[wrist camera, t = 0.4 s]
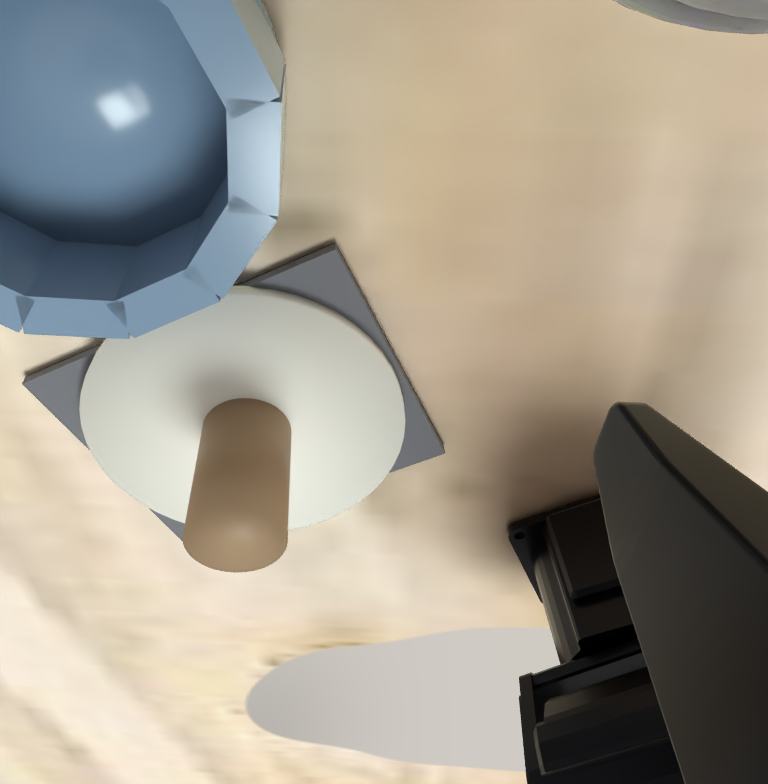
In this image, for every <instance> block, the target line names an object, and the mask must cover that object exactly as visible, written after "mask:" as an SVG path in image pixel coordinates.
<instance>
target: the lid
mask: <svg viewBox="0 0 768 784" xmlns="http://www.w3.org/2000/svg"><path fill="white" fill-rule="evenodd" d="M79 412H80V420H81V427H82V430H83V434H84V437H85V440H86V443H87V445H88V447H89V449H90V451H91V453H92V455H93V457H94V458H95V460H96V461H97V463H98V464H99V466H100V467H101V469H102V470H103V471H104V472H105V473H106V474H107V476H108V477H109V478H110V479H111V480H112V481H113V482H114V483H115V484H116V485H117V486H118V487H120V488H121V489H122V490H123V491H124V492H125V493H127V494H128V495H129V496H131V497H132V498H134V499H135V500H137V501H138V502H139V503H141V504H142V505H144V506H146V507H148V508H150V509H152V510H154V511H155V512H157V513H159V514H162V515H164V516H166V517H169V518H171V519H173V520H176V521H179V522H182V523H185V526H184V531H183V544H184V547H185V549H186V551H187V552H188V553H189V555H190V556H191V557H192V558H194V559H195V560H196V561H198V562H199V563H201V564H203V565H205V566H207V567H210V568H212V569H216V570H220V571H226V572H249V571H254V570H258V569H261V568H264V567H266V566H268V565H270V564H272V563H274V562H275V561H277V560H278V559H279V558H280V557H281V556H282V555H283V553H284V551H285V550H286V547H287V541H288V530H293V529H298V528H303V527H306V526H310V525H313V524H316V523H320V522H322V521H325V520H327V519H330V518H332V517H335V516H336V515H338V514H340V513H342V512H344V511H346V510H348V509H350V508H351V507H353V506H354V505H356V504H357V503H359V502H360V501H362V500H363V499H364V498H365V497H367V496H368V495H369V494H370V493H371V492H372V491H373V490H375V489H376V488H377V486H378V485H379V484H380V483H381V482H382V481H383V480H384V479H385V477H386V476H387V474H388V473H389V471H390V470H391V468H392V467H393V465H394V463H395V461H396V459H397V457H398V455H399V452H400V450H401V446H402V442H403V439H404V431H405V411H404V402H403V396H402V392H401V388H400V384H399V381H398V378H397V376H396V374H395V372H394V369H393V367H392V365H391V364H390V362H389V361H388V359H387V357H386V356H385V354H384V353H383V351H382V350H381V349H380V348H379V347H378V346H377V344H376V343H375V342H374V341H373V340H372V339H371V338H370V337H369V336H368V335H367V334H366V333H365V332H364V331H362V330H361V329H360V328H359V327H358V326H357V325H355V324H354V323H353V322H351V321H350V320H348V319H347V318H345V317H344V316H342V315H340V314H339V313H337V312H336V311H334V310H332V309H330V308H328V307H325V306H323V305H321V304H319V303H317V302H315V301H312V300H309V299H306V298H304V297H301V296H298V295H295V294H291V293H287V292H282V291H278V290H274V289H267V288H258V287H250V286H232V287H231V289H230V290H229V292H228V293H227V294H226V296H225V297H224V299H223V298H222V297H221V299H220V302H218V303H215V304H213V305H211V306H208V307H206V308H204V309H201V310H199V311H197V312H194V313H192V314H190V315H187V316H185V317H183V318H180V319H178V320H176V321H173V322H171V323H169V324H166V325H164V326H162V327H159V328H157V329H155V330H152V331H150V332H148V333H145V334H143V335H141V336H138V337H136V338H133V337H132V336H131V335H130V338H129V339H115V338H106V339H105V340H104V342H103V343H102V344H101V346H100V347H99V348H98V350H97V351H96V353H95V356H94V358H93V360H92V362H91V364H90V366H89V368H88V371H87V373H86V376H85V379H84V382H83V386H82V390H81V394H80V407H79Z"/></svg>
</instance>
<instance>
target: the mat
mask: <svg viewBox="0 0 768 784" xmlns="http://www.w3.org/2000/svg"><path fill="white" fill-rule="evenodd" d="M237 286H250V287H258V288H267V289H274V290H278V291H282V292H287V293H291V294H295V295H298V296H301V297H304V298H306V299H309V300H312V301H315V302H317V303H319V304H321V305H323V306H325V307H328V308H330V309H332V310H334V311H336V312H337V313H339V314H340V315H342V316H344V317H345V318H347V319H348V320H350V321H351V322H353V323H354V324H355V325H357V326H358V327H359V328H360V329H361V330H362V331H364V332H365V333H366V334H367V335H368V336H369V337H370V338H371V339H372V340H373V341H374V342H375V343H376V344H377V346H378V347H379V348H380V349H381V350H382V351H383V353H384V354H385V356H386V357H387V359H388V361H389V362H390V364H391V365H392V367H393V369H394V372H395V374H396V376H397V378H398V381H399V384H400V388H401V392H402V396H403V402H404V411H405V431H404V439H403V442H402V446H401V450H400V452H399V455H398V457H397V459H396V461H395V463H394V465H393V467H392V468H391V470H390V471H389V473H390V472H393V471H396V470H399V469H402V468H404V467H407V466H410V465H413V464H416V463H418V462H421V461H424V460H427V459H430V458H433V457H435V456H438V455H441V454H444V453H445V450H444V446H443V444H442V442H441V440H440V438H439V436H438V435H437V433H436V431H435V429H434V427H433V425H432V423H431V421H430V420H429V418H428V416H427V414H426V412H425V410H424V408H423V406H422V405H421V403H420V401H419V399H418V397H417V395H416V393H415V391H414V390H413V388H412V386H411V384H410V382H409V380H408V378H407V377H406V375H405V373H404V371H403V369H402V367H401V365H400V363H399V362H398V360H397V358H396V356H395V354H394V352H393V350H392V348H391V347H390V345H389V343H388V341H387V339H386V337H385V335H384V333H383V332H382V330H381V328H380V326H379V324H378V322H377V320H376V318H375V317H374V315H373V313H372V311H371V309H370V307H369V305H368V304H367V302H366V300H365V298H364V296H363V294H362V292H361V290H360V289H359V287H358V285H357V283H356V281H355V279H354V277H353V275H352V274H351V272H350V270H349V268H348V266H347V264H346V262H345V260H344V259H343V257H342V255H341V253H340V251H339V249H338V247H337V245H336V244H335V243H334V244H332V245H330V246H327V247H325V248H323V249H321V250H318V251H316V252H314V253H311V254H309V255H307V256H304V257H302V258H300V259H297V260H295V261H293V262H290V263H288V264H286V265H283V266H281V267H279V268H277V269H274V270H272V271H270V272H267V273H265V274H263V275H260V276H258V277H256V278H253V279H251V280H249V281H246V282H244V283H242V284H239V285H237ZM100 346H101V344H100V345H98V346H96V347H94V348H91V349H89V350H87V351H84V352H82V353H80V354H77V355H75V356H73V357H70V358H68V359H66V360H63V361H61V362H59V363H56V364H54V365H52V366H50V367H47V368H45V369H43V370H40V371H38V372H36V373H33V374H31V375H29V376H26V377H25V379H24V381H23V383H22V384H23V385H24V386H25V387H26V388H27V389H28V390H29V391H30V392H31V393H32V394H33V395H34V396H35V397H36V398H37V399H38V400H39V401H40V402H41V403H42V404H43V405H44V406H45V407H46V408H47V409H48V410H49V411H50V412H51V413H52V414H53V415H54V416H55V417H56V418H57V419H58V420H59V421H60V422H61V423H62V424H64V425H65V426H66V427H67V428H68V429H69V430H70V431H71V432H72V433H73V434H74V435H75V436H76V437H77V438H78V439H79V440H80V441H81V442H82V443H83V444H84V445H85V446H86V447H87V448H88V449H89V447H88V445H87V443H86V440H85V437H84V434H83V430H82V427H81V420H80V412H79V407H80V394H81V390H82V386H83V382H84V379H85V376H86V373H87V371H88V368H89V366H90V364H91V362H92V360H93V358H94V356H95V353H96V351H97V350H98V348H99V347H100ZM89 450H90V449H89ZM149 509H150V508H149ZM150 510H151V511H152V512H153V513H154V514H155V515H156V516H157V517H158V518H159V519H160V520H161V521H162V522H163V523H164V524H165V525H166V526H167V527H168V528H169V529H171V530H172V531H173V532H174V533H175V534H176V535H177V536H178V537H179V538H180V539H181V540H182V541H183V531H184V526H185V523H182V522H179V521H176V520H173V519H171V518H169V517H166V516H164V515H162V514H159V513H157V512H155V511H154V510H152V509H150Z"/></svg>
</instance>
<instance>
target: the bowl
mask: <svg viewBox="0 0 768 784" xmlns="http://www.w3.org/2000/svg"><path fill="white" fill-rule="evenodd" d="M284 61H285V58H284V56H283V54H282V52H281V50H280V48H279V46H278V42H277V39H276V35H275V32H274V28H273V25H272V22H271V20H270V17H269V15H268V13H267V10H266V8H265V5H264V3H263V1H262V0H0V324H1V325H3V326H5V327H8V328H10V329H12V330H14V331H17V332H19V331H20V330H21V328H22V326H23V330H24V334H37V335H56V336H76V337H95V338H115V339H129V338H130V335H131V336H132V337H133V338H136V337H138V336H141V335H143V334H145V333H148V332H150V331H152V330H155V329H157V328H159V327H162V326H164V325H166V324H169V323H171V322H173V321H176V320H178V319H180V318H183V317H185V316H187V315H190V314H192V313H194V312H197V311H199V310H201V309H204V308H206V307H208V306H211V305H213V304H215V303H218V302H220V299H221V297H222V298H223V299H224V297H225V296H226V294H227V293H228V292H229V290H230V289H231V287H232V286H233V284H234V283H235V281H236V280H237V278H238V277H239V276H240V274H241V273H242V271H243V270H244V268H245V267H246V265H247V264H248V263H249V261H250V260H251V258H252V257H253V255H254V254H255V252H256V251H257V249H258V248H259V247H260V245H261V244H262V242H263V241H264V239H265V238H266V236H267V235H268V233H269V232H270V231H271V229H272V228H273V226H274V225H275V223H276V222H277V217H278V216H279V208H280V197H281V186H282V175H283V156H284V120H285V109H286V98H285V83H286V64H284Z"/></svg>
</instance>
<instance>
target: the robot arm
mask: <svg viewBox="0 0 768 784" xmlns="http://www.w3.org/2000/svg"><path fill="white" fill-rule="evenodd" d="M593 458H594V467H595V472H596V477H597V482H598V487H599V492H600V495H597V496H594V497H591V498H588V499H585V500H582V501H579V502H576V503H573V504H570V505H567V506H564V507H561V508H557V509H554V510H551V511H548V512H545V513H542V514H539V515H536V516H533V517H530V518H527V519H524V520H521V521H517V522H514V523H512V524H510V525H509V526H508V528H507V534H508V538H509V540H510V542H511V544H512V546H513V548H514V550H515V552H516V554H517V556H518V558H519V560H520V562H521V564H522V566H523V568H524V570H525V572H526V574H527V576H528V578H529V580H530V582H531V584H532V585H533V587H534V589H535V591H536V593H537V595H538V597H539V599H540V601H541V602H542V603H543V604H544V608H545V612H546V615H547V619H548V622H549V626H550V629H551V632H552V636H553V640H554V643H555V646H556V650H557V654H558V657H559V661H560V664H561V665H558V666H555V667H552V668H549V669H547V670H544V671H541V672H538V673H535V674H533V673H528V674H525V675H522V676H520V677H519V683H520V693H521V696H519V703H520V714H521V724H522V735H523V746H524V756H525V767H526V778H527V784H768V492H767V491H766V490H764V489H763V488H762V487H760V486H759V485H758V484H756V483H755V482H753V481H752V480H751V479H749V478H748V477H747V476H745V475H744V474H742V473H741V472H740V471H738V470H737V469H735V468H734V467H733V466H731V465H730V464H729V463H727V462H726V461H724V460H723V459H722V458H720V457H719V456H718V455H716V454H715V453H713V452H712V451H711V450H709V449H708V448H706V447H705V446H704V445H702V444H701V443H700V442H698V441H697V440H695V439H694V438H693V437H691V436H690V435H689V434H687V433H686V432H684V431H683V430H682V429H680V428H679V427H678V426H676V425H675V424H673V423H672V422H671V421H669V420H668V419H666V418H665V417H664V416H662V415H661V414H660V413H658V412H657V411H655V410H654V409H653V408H651V407H650V406H648V405H647V404H644V403H635V402H617V403H615V404H613V405H612V407H611V408H610V410H609V412H608V414H607V417H606V419H605V422H604V424H603V427H602V430H601V432H600V435H599V437H598V440H597V442H596V445H595V449H594V457H593Z"/></svg>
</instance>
